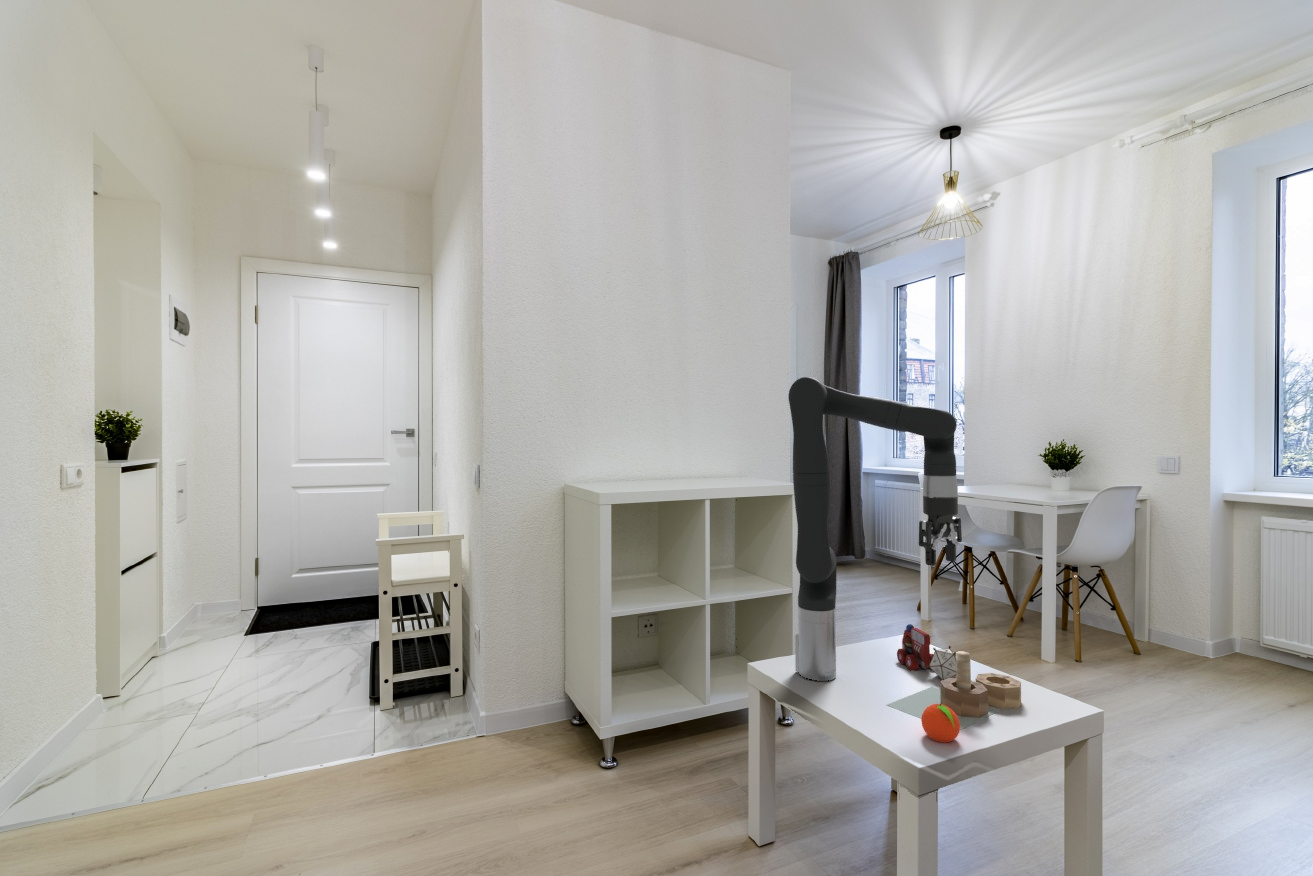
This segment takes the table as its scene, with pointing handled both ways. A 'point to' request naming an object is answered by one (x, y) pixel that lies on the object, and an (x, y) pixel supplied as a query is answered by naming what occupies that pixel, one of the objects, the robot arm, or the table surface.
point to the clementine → (940, 723)
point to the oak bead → (1001, 690)
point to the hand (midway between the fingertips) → (940, 563)
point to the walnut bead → (964, 698)
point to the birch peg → (963, 670)
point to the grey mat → (931, 696)
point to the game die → (944, 663)
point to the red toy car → (915, 649)
